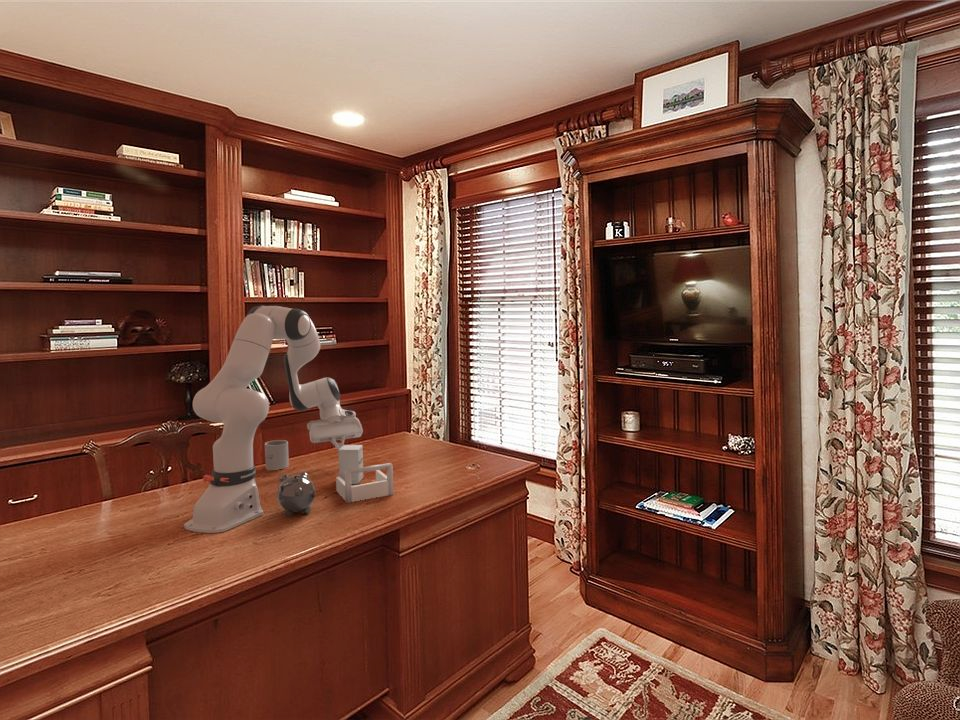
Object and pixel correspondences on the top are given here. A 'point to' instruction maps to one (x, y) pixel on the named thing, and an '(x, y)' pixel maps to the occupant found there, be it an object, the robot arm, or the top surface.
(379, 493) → the frame
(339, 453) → the supplement box
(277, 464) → the printed ceramic cup
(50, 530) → the top surface
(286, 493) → the piggy bank
